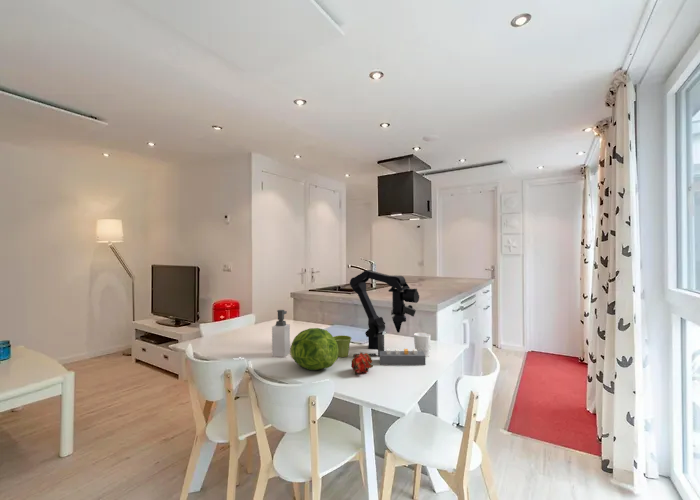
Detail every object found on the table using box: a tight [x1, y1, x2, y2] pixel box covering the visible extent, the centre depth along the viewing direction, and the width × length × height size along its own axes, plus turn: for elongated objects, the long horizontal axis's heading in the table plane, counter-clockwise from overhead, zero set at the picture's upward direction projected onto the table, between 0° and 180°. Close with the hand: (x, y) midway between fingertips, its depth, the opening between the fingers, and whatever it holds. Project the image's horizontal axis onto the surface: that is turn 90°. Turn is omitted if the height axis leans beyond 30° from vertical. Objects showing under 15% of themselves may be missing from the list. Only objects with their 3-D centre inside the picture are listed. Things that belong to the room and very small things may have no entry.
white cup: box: [413, 332, 431, 358], centre depth 160 cm, size 8×8×10 cm
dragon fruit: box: [350, 352, 374, 375], centre depth 139 cm, size 8×8×12 cm
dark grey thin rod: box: [352, 352, 377, 358], centre depth 159 cm, size 11×1×1 cm, turn 95°
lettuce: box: [289, 327, 339, 371], centre depth 145 cm, size 18×23×19 cm
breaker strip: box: [379, 348, 426, 366], centre depth 151 cm, size 20×7×6 cm, turn 87°
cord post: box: [377, 334, 385, 358], centre depth 160 cm, size 3×3×10 cm
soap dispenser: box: [271, 309, 291, 358], centre depth 165 cm, size 6×9×22 cm
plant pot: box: [333, 335, 352, 358], centre depth 161 cm, size 9×9×9 cm
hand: (398, 332), depth 165 cm, fingers closed
